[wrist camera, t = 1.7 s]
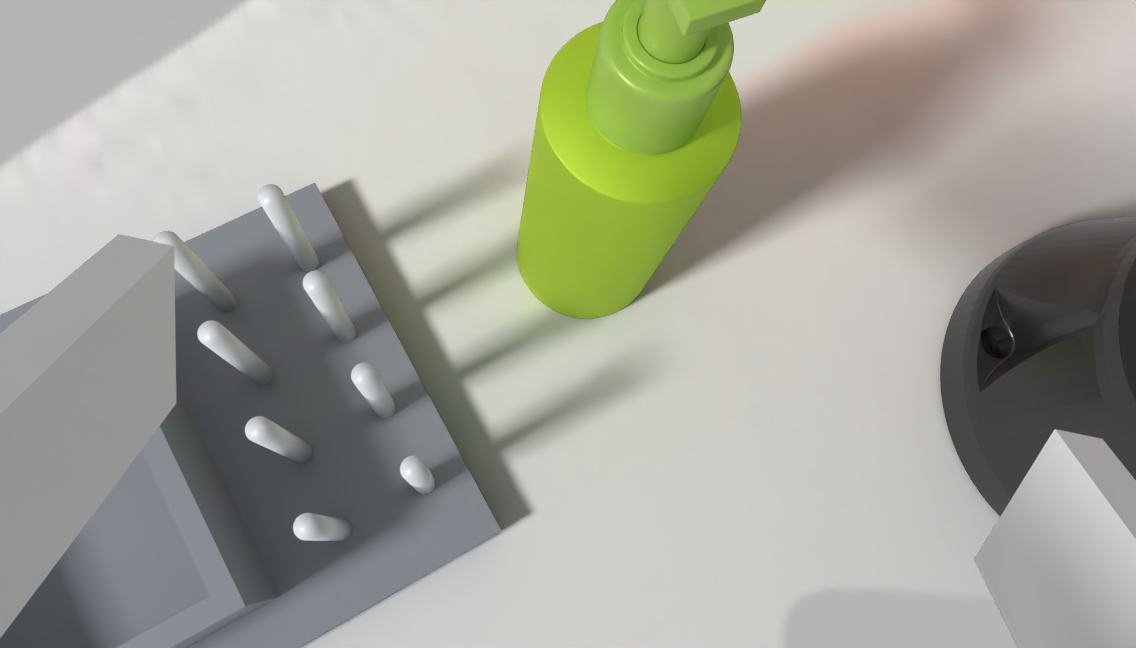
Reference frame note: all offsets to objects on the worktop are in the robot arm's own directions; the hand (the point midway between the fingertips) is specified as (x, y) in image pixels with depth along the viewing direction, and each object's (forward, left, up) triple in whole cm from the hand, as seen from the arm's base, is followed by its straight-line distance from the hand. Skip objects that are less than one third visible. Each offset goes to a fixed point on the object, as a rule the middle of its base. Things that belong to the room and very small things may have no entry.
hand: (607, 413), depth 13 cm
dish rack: (+12, -7, -23) cm, 26 cm away
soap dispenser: (-7, -8, -23) cm, 25 cm away
